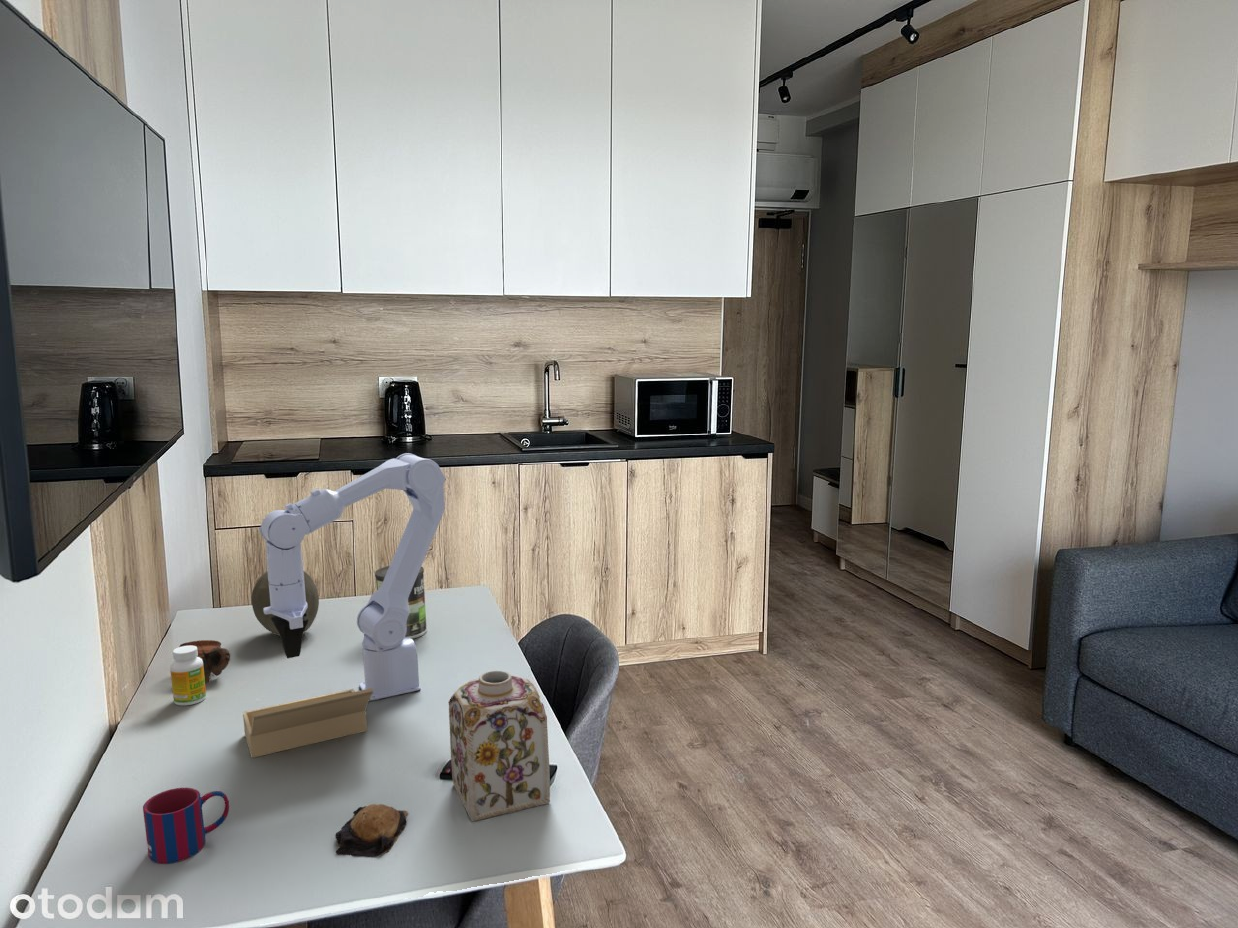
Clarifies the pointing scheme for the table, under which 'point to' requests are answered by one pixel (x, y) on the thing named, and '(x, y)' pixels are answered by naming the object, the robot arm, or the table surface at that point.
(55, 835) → the table surface
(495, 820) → the table surface
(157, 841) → the cup
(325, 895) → the table surface
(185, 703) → the supplement bottle
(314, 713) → the lid flap
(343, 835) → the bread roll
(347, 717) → the carton
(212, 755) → the table surface
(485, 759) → the decorative jar
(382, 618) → the robot arm
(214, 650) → the pottery mug
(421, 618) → the coffee can
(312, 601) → the cantaloupe
